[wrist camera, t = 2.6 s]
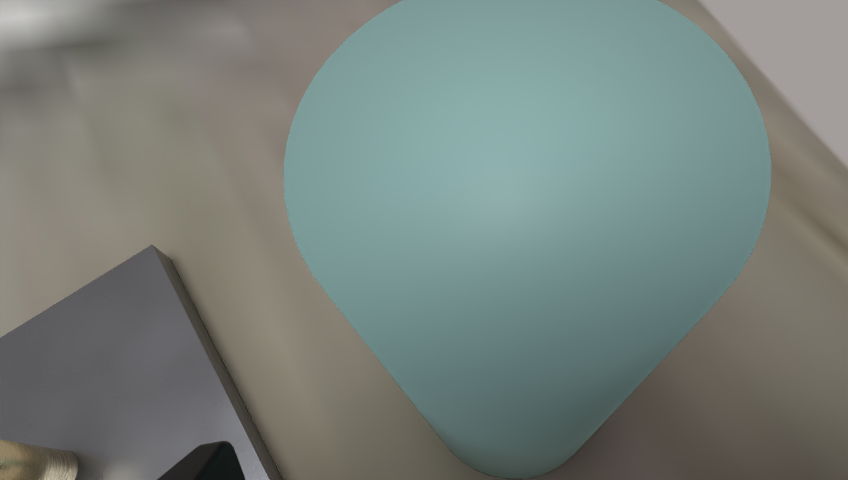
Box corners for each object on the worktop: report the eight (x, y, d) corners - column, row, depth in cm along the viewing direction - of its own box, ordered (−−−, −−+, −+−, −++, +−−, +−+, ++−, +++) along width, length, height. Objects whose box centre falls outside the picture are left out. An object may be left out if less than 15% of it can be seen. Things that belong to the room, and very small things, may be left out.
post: (633, 410, 17) (891, 176, 6) (492, 517, 17) (454, 500, 5) (525, 279, 19) (551, -89, 8) (395, 369, 19) (210, 113, 7)
